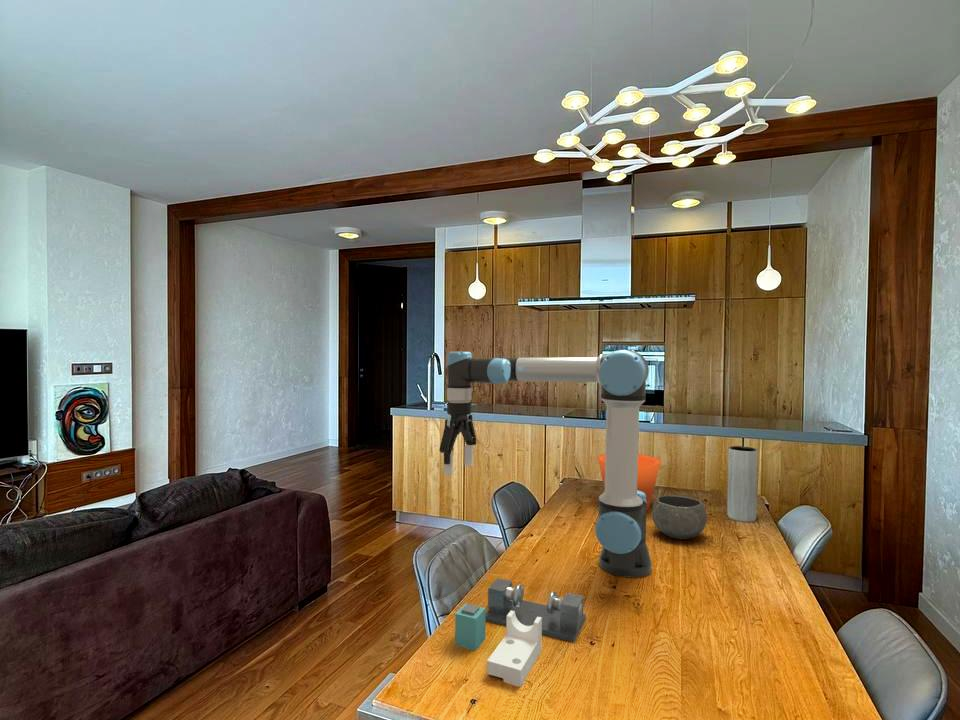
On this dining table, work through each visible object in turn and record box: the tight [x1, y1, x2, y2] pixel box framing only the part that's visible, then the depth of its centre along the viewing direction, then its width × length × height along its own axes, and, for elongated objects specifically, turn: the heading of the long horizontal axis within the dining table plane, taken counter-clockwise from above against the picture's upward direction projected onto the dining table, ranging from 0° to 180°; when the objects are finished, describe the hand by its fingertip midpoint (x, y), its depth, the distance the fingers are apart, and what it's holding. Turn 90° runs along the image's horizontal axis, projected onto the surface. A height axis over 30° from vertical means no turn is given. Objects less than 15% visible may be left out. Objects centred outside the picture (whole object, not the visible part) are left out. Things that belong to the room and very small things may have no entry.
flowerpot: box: [597, 453, 662, 512], centre depth 212 cm, size 25×25×20 cm
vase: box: [726, 445, 758, 523], centre depth 198 cm, size 10×10×27 cm
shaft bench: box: [485, 577, 587, 643], centre depth 123 cm, size 22×11×8 cm, turn 66°
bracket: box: [486, 610, 543, 688], centre depth 106 cm, size 13×7×8 cm, turn 156°
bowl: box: [651, 494, 708, 540], centre depth 179 cm, size 18×18×13 cm
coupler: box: [454, 603, 486, 652], centre depth 113 cm, size 5×5×8 cm
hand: (458, 469), depth 159 cm, fingers open, 13 cm apart
